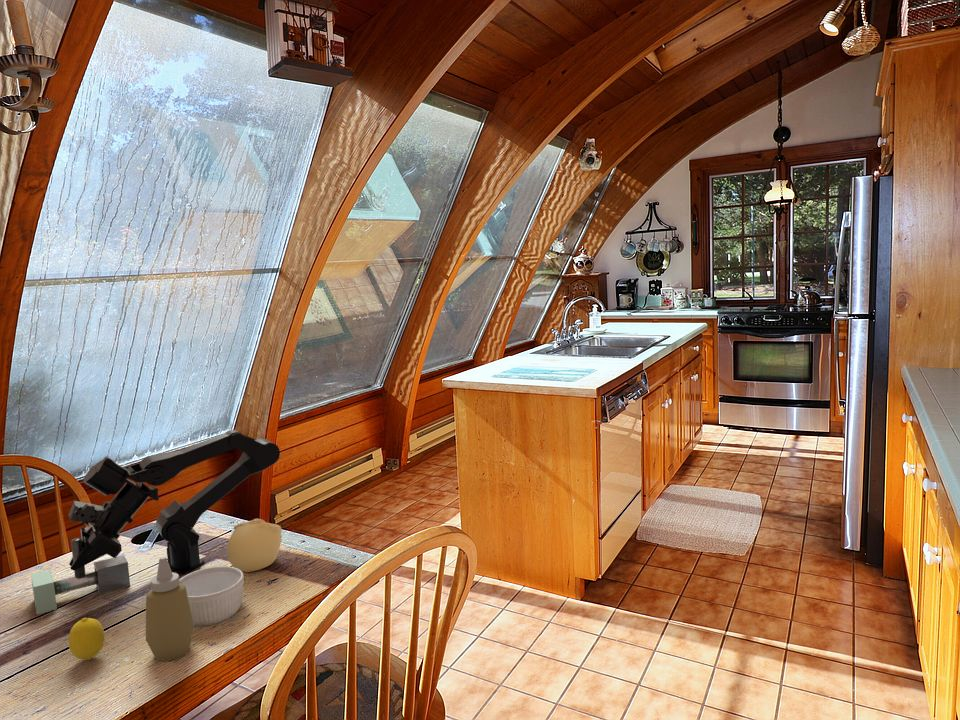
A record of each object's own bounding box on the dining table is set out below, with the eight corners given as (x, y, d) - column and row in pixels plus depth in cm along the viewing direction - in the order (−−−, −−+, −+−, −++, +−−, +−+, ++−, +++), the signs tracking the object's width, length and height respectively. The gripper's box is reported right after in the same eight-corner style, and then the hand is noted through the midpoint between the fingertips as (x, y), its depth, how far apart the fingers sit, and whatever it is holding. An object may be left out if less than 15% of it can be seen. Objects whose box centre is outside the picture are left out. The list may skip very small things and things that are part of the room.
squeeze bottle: (148, 670, 116) (137, 572, 114) (147, 647, 123) (137, 555, 121) (198, 656, 120) (189, 562, 117) (194, 635, 127) (185, 545, 124)
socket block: (53, 594, 145) (50, 568, 144) (57, 609, 139) (53, 582, 138) (34, 600, 143) (30, 573, 142) (36, 614, 137) (33, 587, 136)
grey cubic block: (126, 578, 152) (123, 555, 151) (130, 585, 148) (127, 562, 147) (96, 586, 148) (93, 562, 148) (99, 594, 145) (96, 570, 144)
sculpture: (289, 555, 162) (286, 513, 160) (265, 578, 150) (262, 532, 149) (246, 553, 164) (242, 511, 162) (219, 575, 152) (215, 530, 151)
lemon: (80, 652, 122) (76, 611, 121) (112, 649, 123) (107, 609, 122) (64, 670, 117) (59, 627, 116) (97, 667, 117) (92, 625, 116)
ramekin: (214, 634, 127) (211, 600, 126) (160, 624, 132) (157, 590, 131) (259, 601, 140) (256, 570, 139) (209, 593, 144) (206, 562, 143)
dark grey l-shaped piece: (116, 575, 150) (111, 529, 148) (118, 580, 148) (113, 533, 146) (54, 592, 143) (48, 543, 141) (55, 597, 140) (49, 548, 139)
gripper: (86, 477, 151) (33, 536, 146) (97, 498, 137) (40, 564, 131) (128, 502, 157) (79, 560, 152) (143, 525, 142) (90, 590, 137)
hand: (71, 567), depth 143 cm, fingers closed on dark grey l-shaped piece, 2 cm apart
